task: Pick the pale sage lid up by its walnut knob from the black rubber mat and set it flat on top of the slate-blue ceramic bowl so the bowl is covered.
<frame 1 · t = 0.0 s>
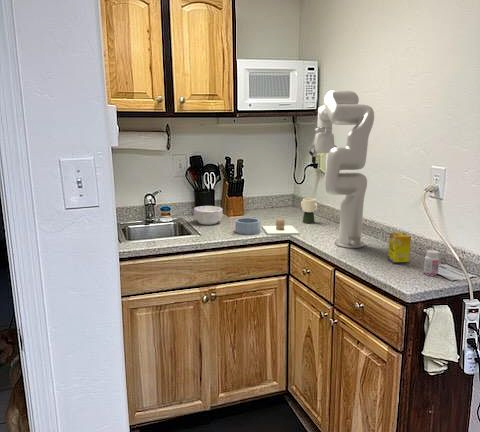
hand: (322, 164, 235), 31 cm above the counter, tool pointing down, fingers open, 9 cm apart
lid: (280, 230, 219), point 1 cm above the counter, touching mat
bowl: (247, 232, 218), on the counter
mat: (280, 232, 219), on the counter
supplement box: (397, 262, 174), on the counter
character mug: (308, 223, 239), on the counter
pill bottle: (430, 274, 160), on the counter
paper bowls: (208, 223, 238), on the counter
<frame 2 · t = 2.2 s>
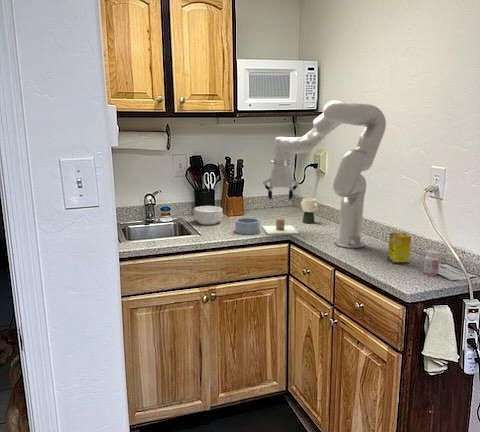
hand: (280, 199, 216), 16 cm above the counter, tool pointing down, fingers open, 9 cm apart
nothing on the counter moved.
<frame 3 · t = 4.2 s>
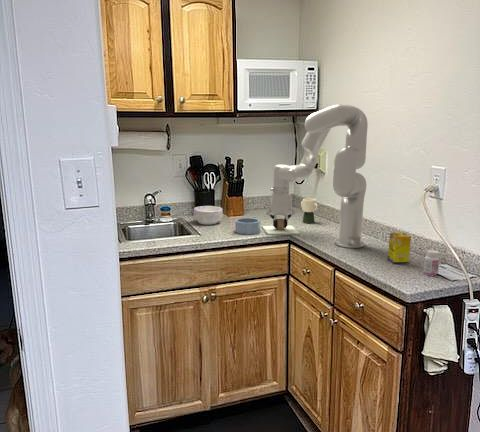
hand: (280, 227, 219), 2 cm above the counter, tool pointing down, fingers closed on lid, 4 cm apart
lid: (280, 230, 219), point 1 cm above the counter, touching gripper, mat
everything else where it was.
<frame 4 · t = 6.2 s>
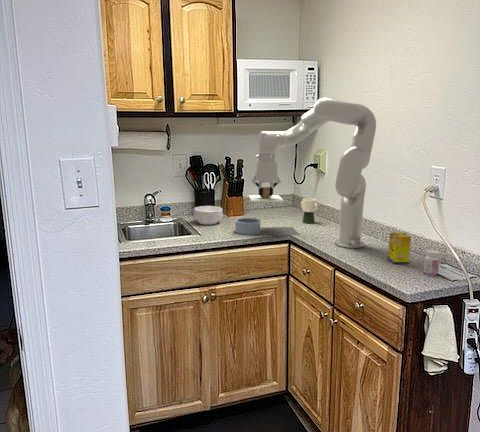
hand: (265, 195, 215), 18 cm above the counter, tool pointing down, fingers closed on lid, 4 cm apart
lid: (265, 199, 216), point 16 cm above the counter, touching gripper
everything else where it was.
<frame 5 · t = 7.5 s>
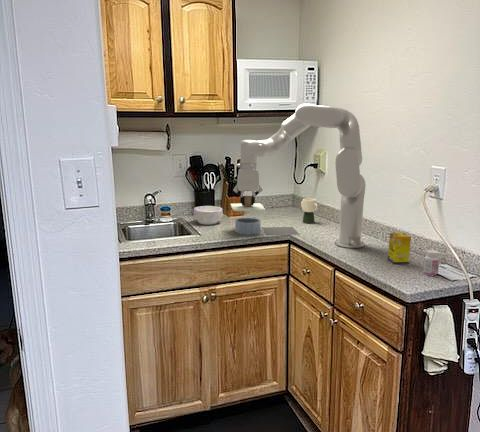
hand: (247, 204, 215), 14 cm above the counter, tool pointing down, fingers closed on lid, 4 cm apart
lid: (247, 208, 215), point 12 cm above the counter, touching gripper
everything else where it was.
when the fingers open (9 cm above the counter, at t = 8.5 s): lid drops 2 cm, resting on bowl.
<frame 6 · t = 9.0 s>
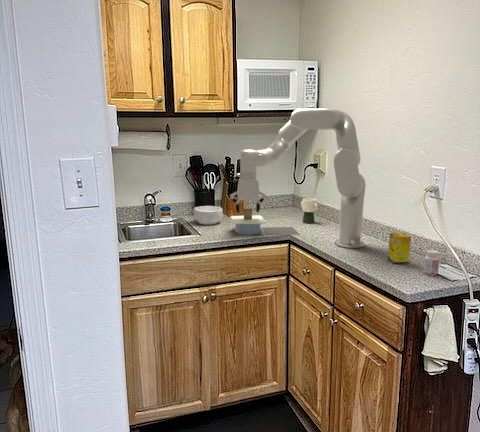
hand: (247, 211, 216), 10 cm above the counter, tool pointing down, fingers open, 9 cm apart
lid: (247, 220, 216), point 6 cm above the counter, touching bowl
everything else where it was.
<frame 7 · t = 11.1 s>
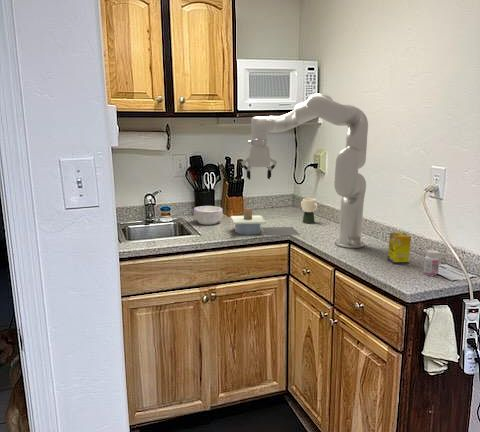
hand: (258, 178, 218), 25 cm above the counter, tool pointing down, fingers open, 9 cm apart
nothing on the counter moved.
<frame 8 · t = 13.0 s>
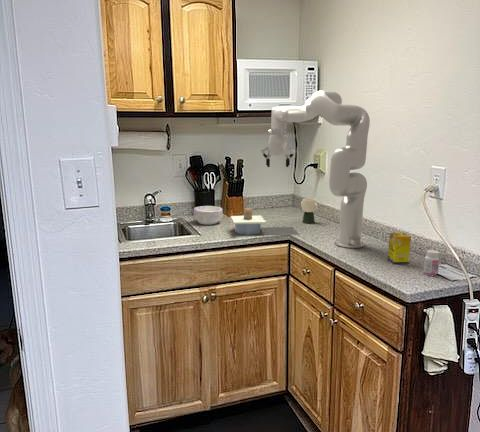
hand: (277, 166, 228), 30 cm above the counter, tool pointing down, fingers open, 9 cm apart
nothing on the counter moved.
at the end: lid 0.1 cm off-centre on the bowl, point 6.0 cm above the bowl's base; lid tilted 0°; the gripper is holding nothing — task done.
